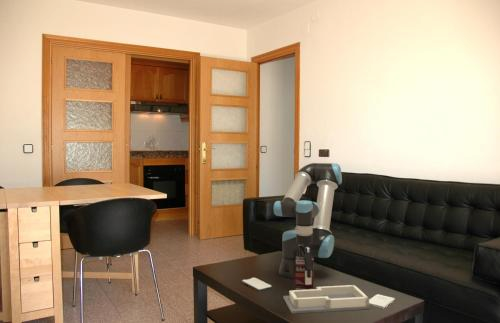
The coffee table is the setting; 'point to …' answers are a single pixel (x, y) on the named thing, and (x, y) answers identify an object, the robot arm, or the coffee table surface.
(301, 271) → the supplement box
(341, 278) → the coffee table surface
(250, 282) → the phone case
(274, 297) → the coffee table surface
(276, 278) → the coffee table surface
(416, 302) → the coffee table surface
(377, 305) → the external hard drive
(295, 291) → the white tray
